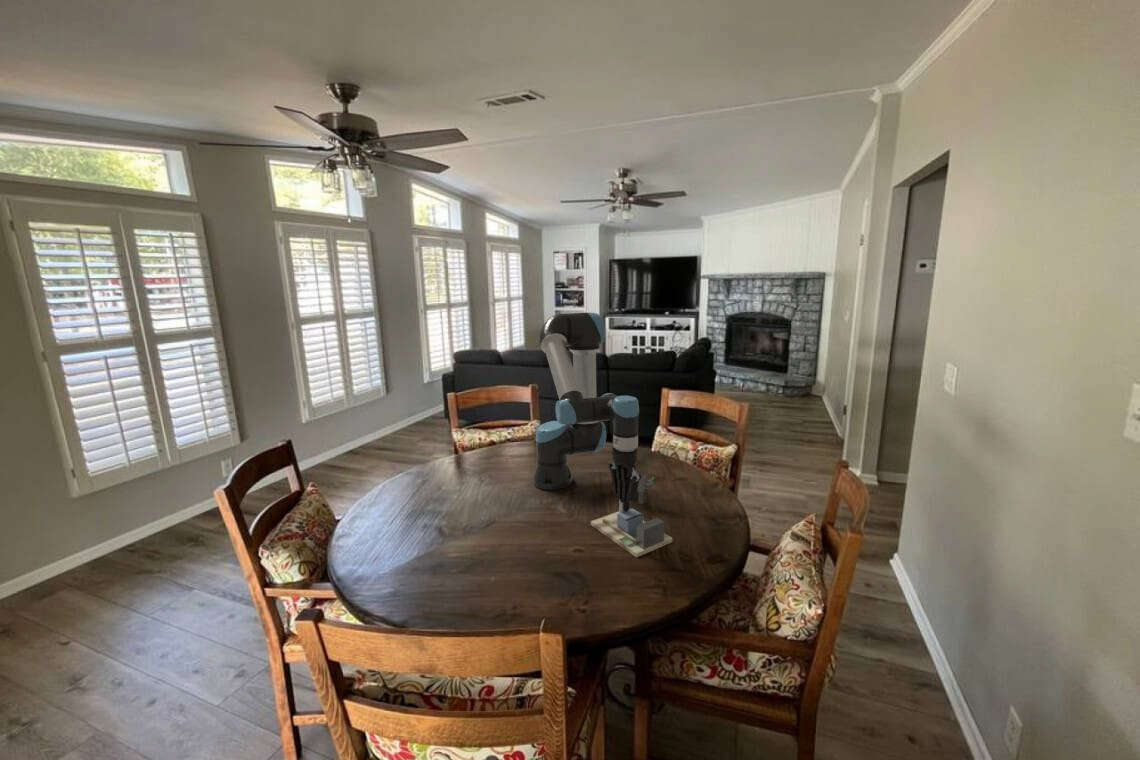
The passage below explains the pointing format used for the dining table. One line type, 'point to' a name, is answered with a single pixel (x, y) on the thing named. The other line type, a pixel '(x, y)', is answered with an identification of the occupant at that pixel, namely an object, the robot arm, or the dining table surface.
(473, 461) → the dining table surface
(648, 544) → the dark grey textured box
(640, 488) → the mechanical component
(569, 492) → the dining table surface
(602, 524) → the board
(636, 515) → the carriage
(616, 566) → the dining table surface
